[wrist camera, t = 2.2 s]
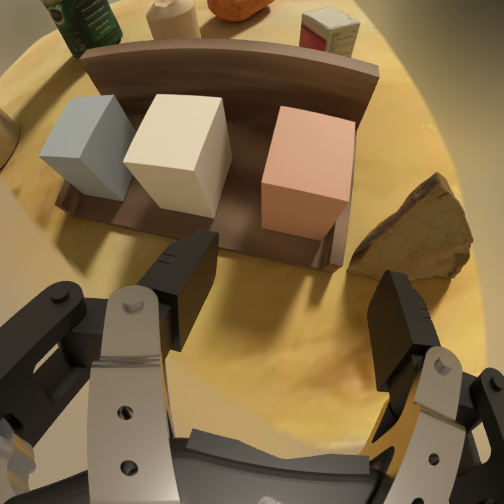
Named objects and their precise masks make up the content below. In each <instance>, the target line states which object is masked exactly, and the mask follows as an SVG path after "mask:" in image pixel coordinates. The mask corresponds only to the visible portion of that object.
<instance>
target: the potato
mask: <svg viewBox="0 0 504 504" xmlns="http://www.w3.org/2000/svg"><path fill="white" fill-rule="evenodd" d="M273 1H274V0H208V1H207V3H208V7H209V9H210V11H211V12H212V13H213V14H215V15H216V16H217V17H218V18H220V19H223V20H228V21H233V22H241V21H243V20H246V19H247V18H249V17H250V16H251V15H253V14H254V13H256V12H257V11H259V10H261V9H262V8H264V7H265V6H267V5H269V4H270V3H272V2H273Z"/></svg>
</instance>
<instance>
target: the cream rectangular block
mask: <svg viewBox="0 0 504 504" xmlns="http://www.w3.org/2000/svg"><path fill="white" fill-rule="evenodd" d="M231 161H232V153H231V147H230V141H229V135H228V130H227V124H226V118H225V112H224V107H223V101H222V98H218V97H206V96H192V95H169V94H157V95H156V97H155V99H154V100H153V102H152V104H151V106H150V108H149V109H148V111H147V113H146V115H145V117H144V119H143V121H142V123H141V125H140V127H139V129H138V131H137V133H136V135H135V137H134V139H133V141H132V143H131V145H130V147H129V149H128V151H127V154H126V156H125V158H124V160H123V163H124V164H125V165H126V167H127V168H128V169H129V170H130V172H131V173H132V174H133V175H134V177H135V178H136V179H137V180H138V182H139V183H140V184H141V185H142V186H143V188H144V189H145V190H146V191H147V193H148V194H149V195H150V196H151V197H152V199H153V200H154V201H155V202H156V204H157V205H158V206H159V207H160V208H162V209H168V210H173V211H178V212H184V213H189V214H194V215H199V216H204V217H209V218H215V214H216V211H217V207H218V204H219V201H220V197H221V194H222V191H223V187H224V184H225V181H226V177H227V174H228V171H229V167H230V164H231Z"/></svg>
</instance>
